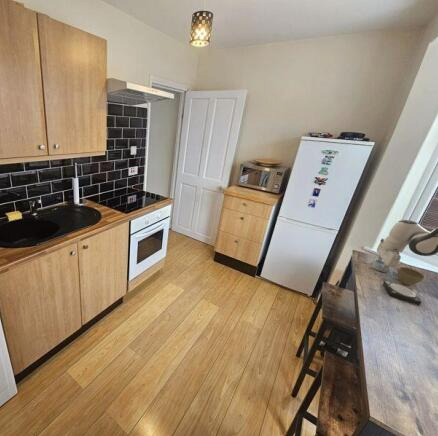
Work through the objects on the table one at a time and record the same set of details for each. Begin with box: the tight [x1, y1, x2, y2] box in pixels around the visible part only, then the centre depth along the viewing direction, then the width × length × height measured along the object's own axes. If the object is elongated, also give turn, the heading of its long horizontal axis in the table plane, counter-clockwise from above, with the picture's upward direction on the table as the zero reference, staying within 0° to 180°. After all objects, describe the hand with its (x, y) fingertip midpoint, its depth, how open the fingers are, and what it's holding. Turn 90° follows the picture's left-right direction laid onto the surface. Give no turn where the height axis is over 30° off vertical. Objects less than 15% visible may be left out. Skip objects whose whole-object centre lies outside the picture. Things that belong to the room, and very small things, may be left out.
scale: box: [382, 280, 423, 306], centre depth 118 cm, size 11×11×3 cm
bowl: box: [371, 259, 390, 273], centre depth 138 cm, size 7×7×4 cm
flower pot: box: [396, 266, 426, 286], centre depth 127 cm, size 10×10×7 cm
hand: (380, 265), depth 138 cm, fingers closed on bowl, 7 cm apart
